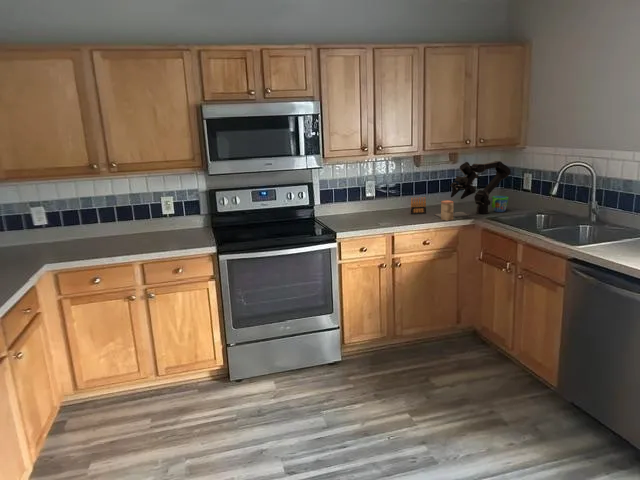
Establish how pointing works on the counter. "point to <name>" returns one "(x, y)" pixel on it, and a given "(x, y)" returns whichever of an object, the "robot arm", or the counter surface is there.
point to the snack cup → (499, 203)
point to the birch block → (447, 210)
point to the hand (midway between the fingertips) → (456, 197)
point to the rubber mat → (455, 214)
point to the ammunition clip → (418, 206)
